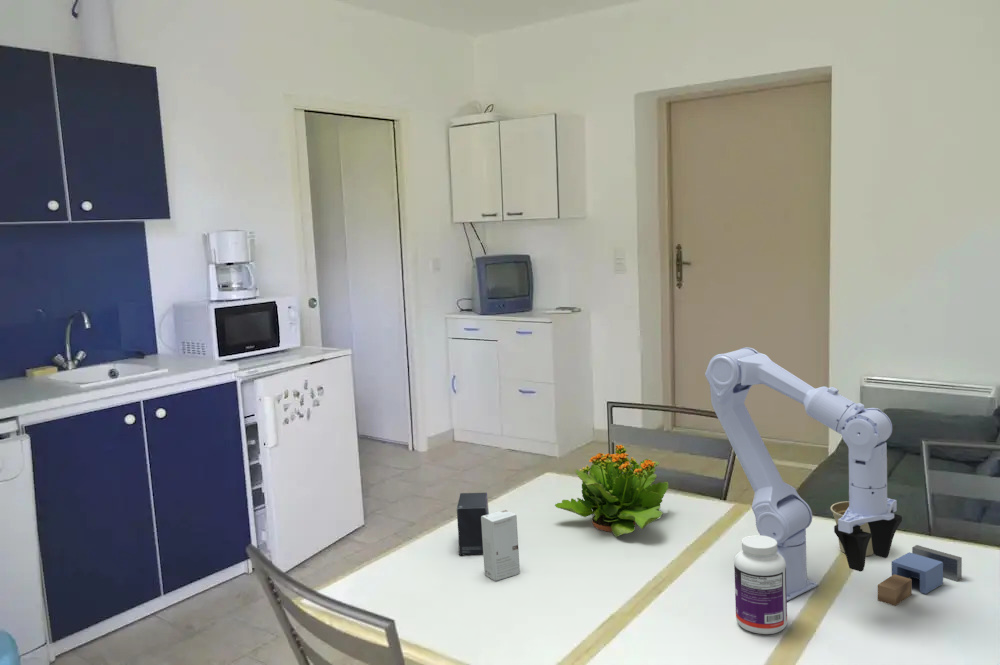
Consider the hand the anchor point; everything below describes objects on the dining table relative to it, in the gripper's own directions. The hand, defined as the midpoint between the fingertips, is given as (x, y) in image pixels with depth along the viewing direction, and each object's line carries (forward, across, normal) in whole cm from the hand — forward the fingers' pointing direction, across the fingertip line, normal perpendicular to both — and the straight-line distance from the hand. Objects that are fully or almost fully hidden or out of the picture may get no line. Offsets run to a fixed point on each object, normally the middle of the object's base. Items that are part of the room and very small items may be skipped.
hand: (868, 562), depth 131 cm
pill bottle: (+9, -17, +9) cm, 21 cm away
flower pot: (+9, +21, +14) cm, 27 cm away
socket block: (+8, +15, 0) cm, 17 cm away
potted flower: (+9, -2, +60) cm, 61 cm away
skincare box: (+9, -36, +56) cm, 67 cm away
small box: (+9, -32, +71) cm, 79 cm away
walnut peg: (+9, +8, 0) cm, 12 cm away
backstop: (+8, +22, -1) cm, 23 cm away
